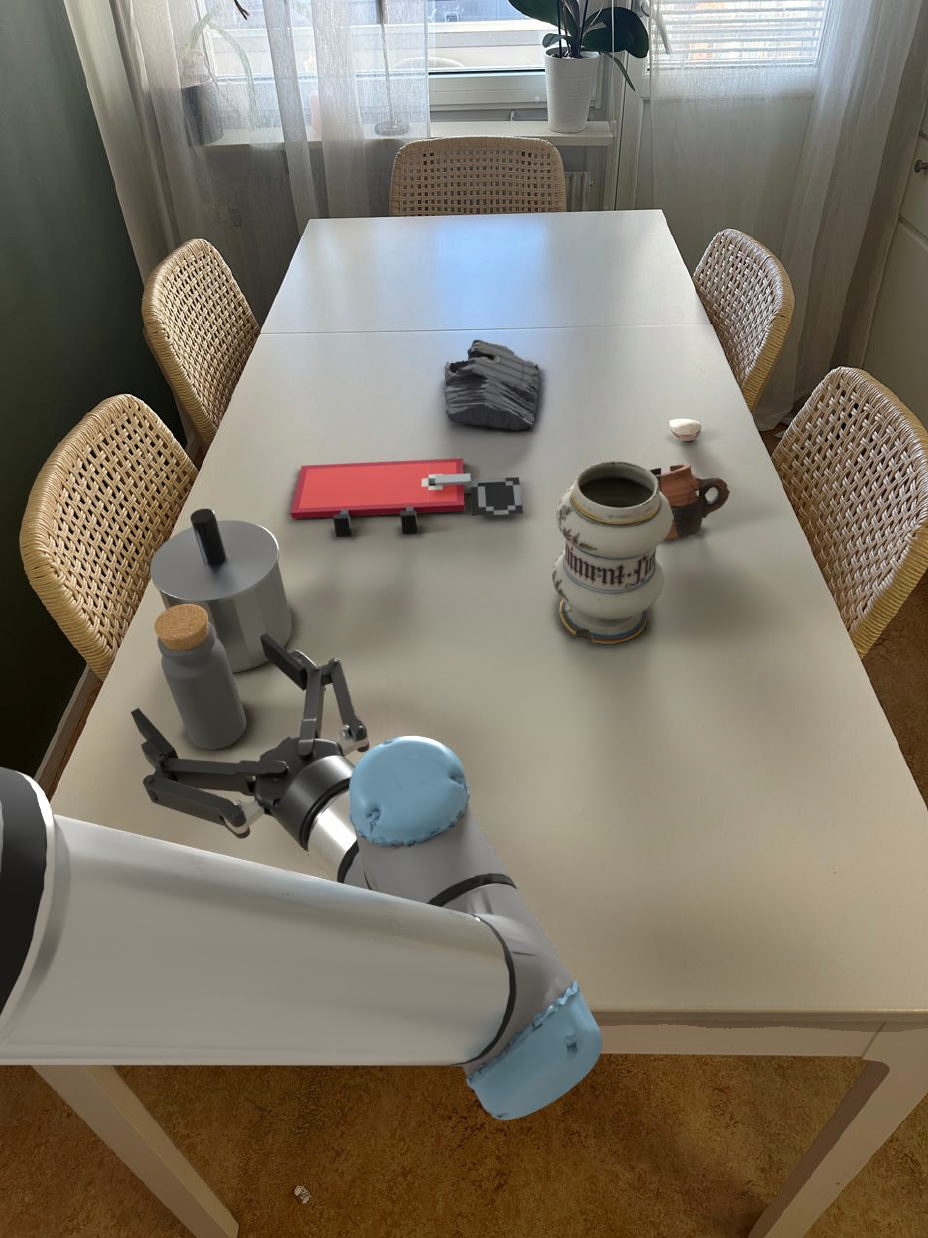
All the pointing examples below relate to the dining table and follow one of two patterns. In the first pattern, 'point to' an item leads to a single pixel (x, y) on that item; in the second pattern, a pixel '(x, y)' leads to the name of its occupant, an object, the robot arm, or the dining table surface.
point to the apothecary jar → (610, 550)
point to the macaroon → (685, 429)
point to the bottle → (200, 677)
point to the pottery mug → (689, 498)
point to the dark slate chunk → (492, 388)
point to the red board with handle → (399, 491)
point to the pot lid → (214, 560)
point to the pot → (248, 621)
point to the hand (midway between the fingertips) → (204, 680)
